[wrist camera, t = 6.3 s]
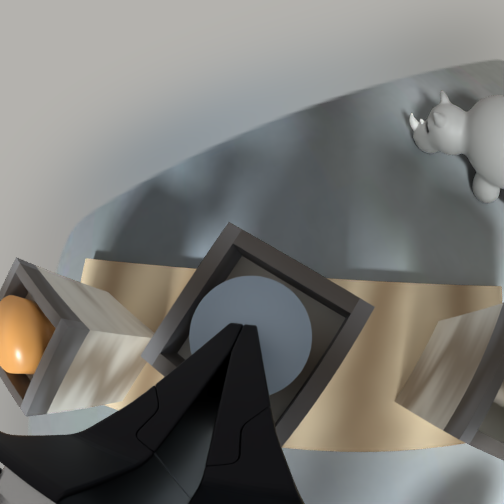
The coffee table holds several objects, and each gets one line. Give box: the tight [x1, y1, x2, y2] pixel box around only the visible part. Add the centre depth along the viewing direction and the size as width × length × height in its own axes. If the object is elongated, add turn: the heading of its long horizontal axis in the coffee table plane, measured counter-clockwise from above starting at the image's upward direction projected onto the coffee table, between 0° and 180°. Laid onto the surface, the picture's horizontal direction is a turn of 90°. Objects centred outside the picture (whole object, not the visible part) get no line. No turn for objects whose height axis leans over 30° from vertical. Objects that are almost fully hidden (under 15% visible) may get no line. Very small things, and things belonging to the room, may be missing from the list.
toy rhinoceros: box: [409, 90, 504, 203], centre depth 18 cm, size 7×12×8 cm, turn 57°
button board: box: [0, 222, 504, 460], centre depth 15 cm, size 11×33×11 cm, turn 83°
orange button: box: [0, 295, 56, 374], centre depth 12 cm, size 4×4×2 cm
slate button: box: [189, 276, 312, 395], centre depth 11 cm, size 4×4×2 cm
